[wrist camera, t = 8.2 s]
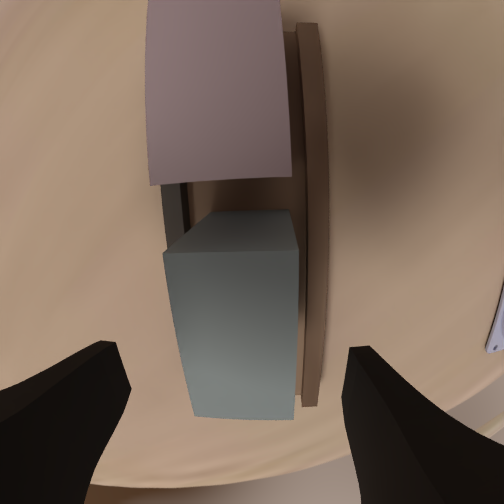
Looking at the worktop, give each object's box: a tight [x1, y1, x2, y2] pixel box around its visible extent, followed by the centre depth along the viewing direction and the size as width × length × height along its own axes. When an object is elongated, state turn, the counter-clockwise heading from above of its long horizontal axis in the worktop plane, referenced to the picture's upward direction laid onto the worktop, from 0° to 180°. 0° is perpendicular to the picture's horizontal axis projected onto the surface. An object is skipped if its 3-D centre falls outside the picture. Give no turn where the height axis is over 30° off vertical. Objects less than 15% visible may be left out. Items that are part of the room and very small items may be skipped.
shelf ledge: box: [161, 23, 329, 407], centre depth 16 cm, size 8×22×2 cm, turn 3°
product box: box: [163, 209, 299, 420], centre depth 13 cm, size 4×7×7 cm, turn 2°
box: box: [145, 0, 292, 186], centre depth 10 cm, size 4×7×7 cm, turn 3°
